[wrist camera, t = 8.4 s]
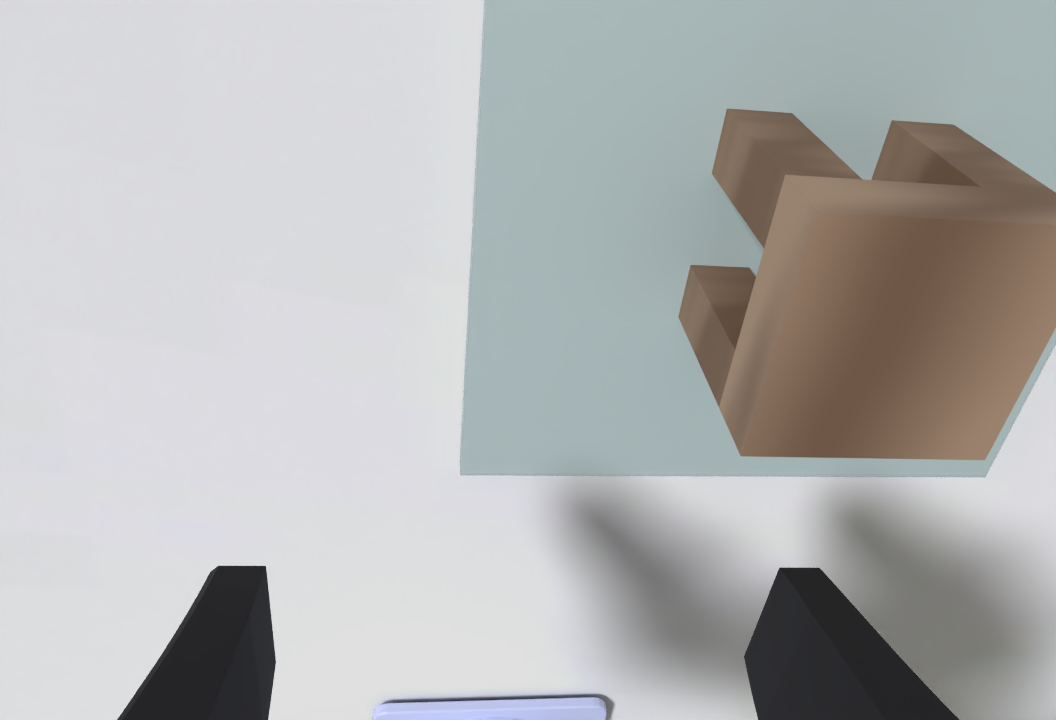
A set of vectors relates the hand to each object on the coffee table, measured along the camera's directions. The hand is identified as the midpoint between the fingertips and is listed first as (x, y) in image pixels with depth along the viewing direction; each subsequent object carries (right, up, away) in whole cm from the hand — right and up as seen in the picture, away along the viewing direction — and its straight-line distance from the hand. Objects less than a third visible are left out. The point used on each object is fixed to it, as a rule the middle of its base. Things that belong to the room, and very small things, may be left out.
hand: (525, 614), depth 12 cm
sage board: (+6, +7, +7) cm, 12 cm away
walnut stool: (+6, +7, +7) cm, 11 cm away
